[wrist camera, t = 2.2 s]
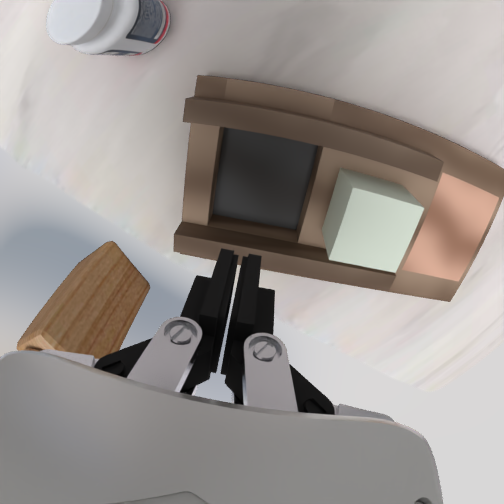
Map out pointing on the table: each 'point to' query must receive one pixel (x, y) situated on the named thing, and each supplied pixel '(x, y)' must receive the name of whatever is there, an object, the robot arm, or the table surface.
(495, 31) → the table surface
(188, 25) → the table surface
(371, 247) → the sage block
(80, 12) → the pill bottle
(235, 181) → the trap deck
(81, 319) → the decorative item
